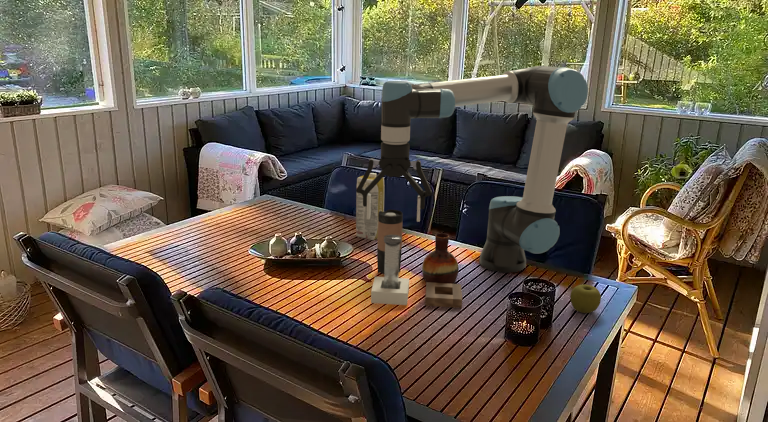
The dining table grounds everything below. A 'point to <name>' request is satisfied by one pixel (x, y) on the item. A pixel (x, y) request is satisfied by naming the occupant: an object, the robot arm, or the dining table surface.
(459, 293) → the mount
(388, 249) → the pin
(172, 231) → the dining table surface
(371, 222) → the juice carton
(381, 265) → the travel mug
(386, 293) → the socket
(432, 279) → the vase
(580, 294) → the apple
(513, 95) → the robot arm
